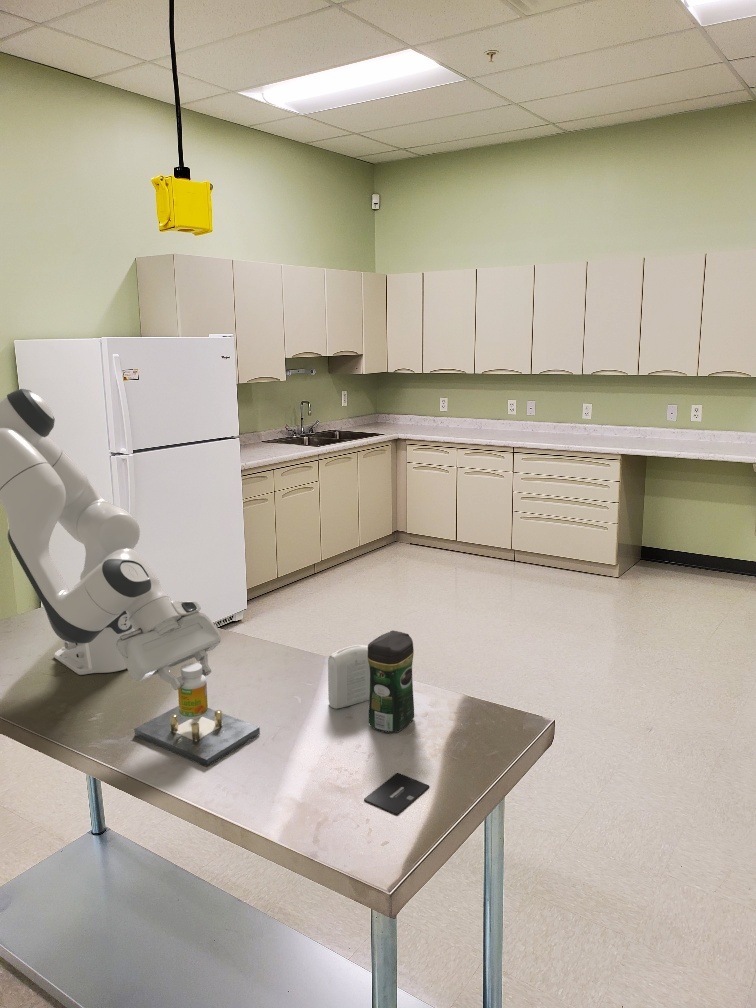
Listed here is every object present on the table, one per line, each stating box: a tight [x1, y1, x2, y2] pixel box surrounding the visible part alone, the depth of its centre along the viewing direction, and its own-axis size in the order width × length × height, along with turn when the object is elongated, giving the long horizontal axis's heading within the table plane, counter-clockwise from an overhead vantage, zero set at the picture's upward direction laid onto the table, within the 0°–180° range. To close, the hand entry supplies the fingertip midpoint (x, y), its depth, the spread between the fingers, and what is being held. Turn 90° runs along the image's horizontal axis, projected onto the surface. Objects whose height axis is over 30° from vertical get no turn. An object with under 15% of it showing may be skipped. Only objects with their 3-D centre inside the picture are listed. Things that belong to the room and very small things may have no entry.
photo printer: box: [327, 644, 370, 709], centre depth 163 cm, size 10×4×12 cm, turn 123°
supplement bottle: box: [177, 662, 209, 719], centre depth 148 cm, size 5×5×10 cm
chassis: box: [133, 705, 261, 768], centre depth 150 cm, size 20×14×4 cm
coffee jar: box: [367, 630, 415, 734], centre depth 153 cm, size 10×8×19 cm
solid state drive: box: [363, 772, 430, 816], centre depth 131 cm, size 7×10×1 cm
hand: (194, 681), depth 148 cm, fingers closed on supplement bottle, 5 cm apart
